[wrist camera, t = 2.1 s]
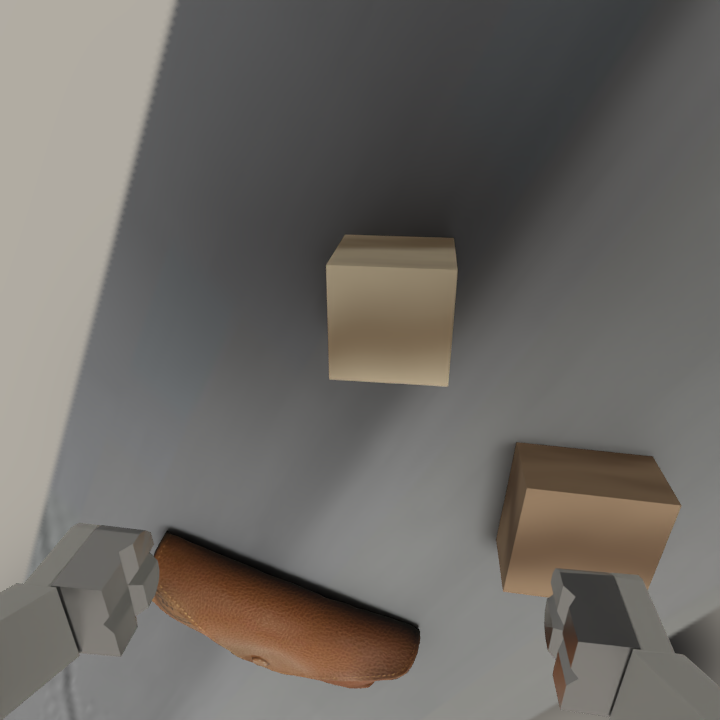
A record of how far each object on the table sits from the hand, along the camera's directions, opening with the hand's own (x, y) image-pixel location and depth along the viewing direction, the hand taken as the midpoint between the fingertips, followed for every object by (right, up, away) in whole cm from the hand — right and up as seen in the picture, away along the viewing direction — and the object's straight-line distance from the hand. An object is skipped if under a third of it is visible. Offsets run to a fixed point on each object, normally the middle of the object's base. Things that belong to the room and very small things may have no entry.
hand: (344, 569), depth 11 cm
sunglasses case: (-5, -13, +27) cm, 30 cm away
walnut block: (+12, -3, +20) cm, 23 cm away
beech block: (+2, +8, +15) cm, 17 cm away
